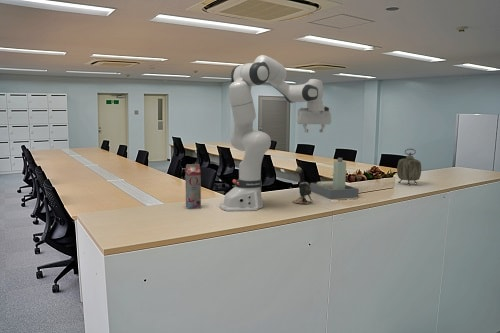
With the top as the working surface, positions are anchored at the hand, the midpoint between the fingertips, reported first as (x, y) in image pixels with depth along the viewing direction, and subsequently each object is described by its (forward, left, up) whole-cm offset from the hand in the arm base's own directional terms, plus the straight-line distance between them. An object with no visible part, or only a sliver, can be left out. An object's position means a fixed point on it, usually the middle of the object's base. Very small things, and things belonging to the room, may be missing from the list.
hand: (313, 132), depth 225 cm
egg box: (+12, +2, -36) cm, 38 cm away
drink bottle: (+12, -10, -36) cm, 39 cm away
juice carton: (-72, -10, -37) cm, 82 cm away
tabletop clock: (+82, +15, -37) cm, 91 cm away
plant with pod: (-14, -17, -37) cm, 43 cm away
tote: (+12, -4, -37) cm, 39 cm away
